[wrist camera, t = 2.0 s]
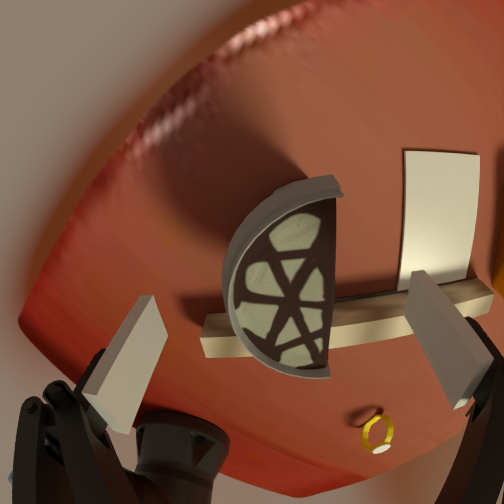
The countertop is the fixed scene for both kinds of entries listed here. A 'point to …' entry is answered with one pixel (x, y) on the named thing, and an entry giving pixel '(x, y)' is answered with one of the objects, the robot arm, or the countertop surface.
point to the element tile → (500, 258)
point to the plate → (438, 215)
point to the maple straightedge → (356, 318)
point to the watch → (385, 443)
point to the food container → (285, 277)
